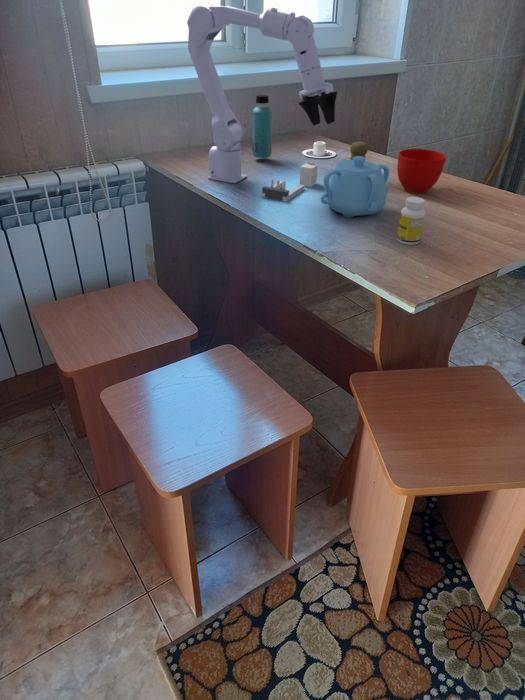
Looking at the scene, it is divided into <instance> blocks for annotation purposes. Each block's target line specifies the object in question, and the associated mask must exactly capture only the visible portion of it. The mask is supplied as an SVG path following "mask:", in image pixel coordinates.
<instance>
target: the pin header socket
mask: <svg viewBox="0 0 525 700" xmlns="http://www.w3.org/2000/svg"><path fill="white" fill-rule="evenodd" d="M274 180H275V179H274V178H271V179H270V186H263V187H262V188H261V193H260V196H261V197H262V198H266V197H267V199H271V198H272V200H276V199H277V200H278V201H281V200H283V201H282V202H286V201H287V202H288V201H289V200H291V199H292V198H294V197H295V196H297V195H298V194H299V192H300V191H301V192H303V191H304V190H305V186H304V185H300V184H299V185H298V186H296V187H295V188H293V189H292V190H287V189H286V182H287V181H286V180H280V179H276V183H274V182H275V181H274ZM280 187H281V188H280ZM303 189H304V190H303ZM301 192H300V193H301ZM297 193H298V194H297ZM296 194H297V195H296ZM294 195H295V196H294ZM293 196H294V197H293ZM290 198H291V199H290Z"/></svg>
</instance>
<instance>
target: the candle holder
mask: <svg viewBox="0 0 525 700" xmlns="http://www.w3.org/2000/svg"><path fill="white" fill-rule="evenodd" d="M310 151H312V152H313V153H312V154H313V155H309V154H308V153H311V152H310ZM325 151H327V152H325ZM307 152H308V153H307ZM328 152H330V153H332V155H331V154H330V153H329V154H330V155H328V156H326V153H328ZM301 153H302V155H303V156H305V157H309V158H313V159H314V158H315V159H326V158H328V159H329V158H333V157H336V156H337V153H336V152H335V151H333V150H330V149H327V143H326V142H325V141H318V140H317V141H315V142H313V148H309V149H305V150H302V152H301ZM306 153H307V154H306ZM315 155H316V156H315ZM322 155H324V156H322Z"/></svg>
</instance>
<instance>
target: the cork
mask: <svg viewBox="0 0 525 700" xmlns="http://www.w3.org/2000/svg"><path fill="white" fill-rule="evenodd" d="M349 150H350V154H351V156H350V159H349V160H353V157H355V156H362V157H365V158H366V155H367V154H368V151H369V146H368V144H367V143H366V142H365V141H364V142H363V141H354V142H352V144H350V147H349Z"/></svg>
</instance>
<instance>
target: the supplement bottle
mask: <svg viewBox="0 0 525 700" xmlns="http://www.w3.org/2000/svg"><path fill="white" fill-rule="evenodd" d="M424 206H425V199H424V198H421V197H418V196H409V197H407V198H406V200H405V206H403V208H402V209H401V211H400V215H399V222H398V228H397V234H396V241H397V242H399V243H401V244H403V245H407V246H414V245H418V244H419V243H420V242H421V238H422V232H423V228H424V223H425V218H426V210H425V209H424Z"/></svg>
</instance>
